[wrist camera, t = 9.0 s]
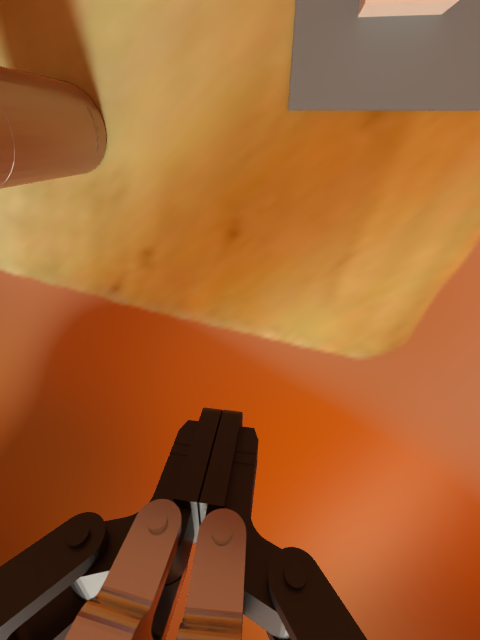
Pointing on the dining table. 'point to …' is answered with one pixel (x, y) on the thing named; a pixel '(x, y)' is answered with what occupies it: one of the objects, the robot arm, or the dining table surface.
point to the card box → (403, 7)
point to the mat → (384, 59)
